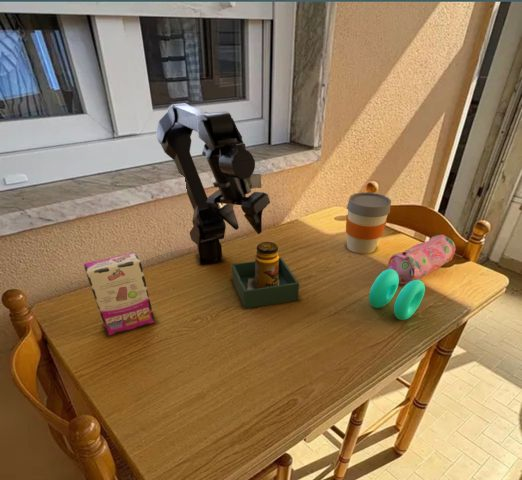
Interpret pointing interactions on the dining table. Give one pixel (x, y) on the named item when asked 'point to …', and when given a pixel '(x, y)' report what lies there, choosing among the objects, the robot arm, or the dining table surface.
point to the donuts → (406, 299)
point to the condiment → (265, 266)
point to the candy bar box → (120, 292)
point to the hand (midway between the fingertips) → (248, 231)
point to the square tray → (265, 295)
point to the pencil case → (422, 258)
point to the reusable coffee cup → (366, 221)
